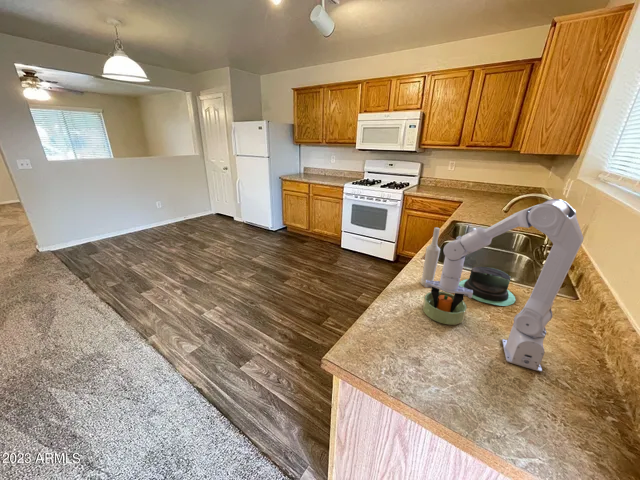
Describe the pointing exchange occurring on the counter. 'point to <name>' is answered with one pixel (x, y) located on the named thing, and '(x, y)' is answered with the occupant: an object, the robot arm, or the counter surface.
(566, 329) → the counter surface
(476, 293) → the chocolate cake
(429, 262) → the bottle
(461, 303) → the bowl
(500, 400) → the counter surface
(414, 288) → the counter surface
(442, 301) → the pepper
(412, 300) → the counter surface
